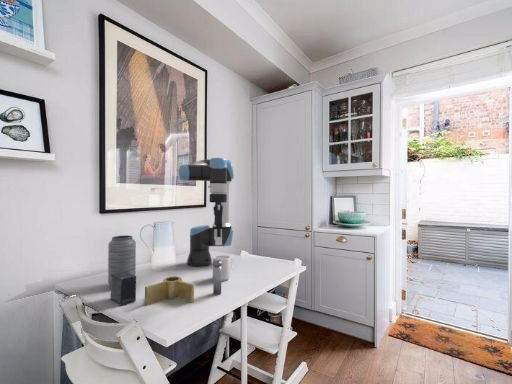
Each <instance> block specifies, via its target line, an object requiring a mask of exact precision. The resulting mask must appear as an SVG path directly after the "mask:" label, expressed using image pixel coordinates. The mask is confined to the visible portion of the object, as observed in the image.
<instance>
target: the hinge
mask: <svg viewBox="0 0 512 384" xmlns="http://www.w3.org/2000/svg"><path fill="white" fill-rule="evenodd" d="M166 299H167V300H172V299H173V300H174V299H179V300H182V301H185V302H188V303H191V304H192V303H194V301H195V284H194V283H190V282H187V281H183V280H182V277H181V276H176V275H175V276H168V277H164V278H163V280H162V281H161V282H160V281H159V282H157V283H154V284H150V285H147V286H144V305H145V306H150V305H153V304H155V303H159V302H160V301H163V300H166Z"/></svg>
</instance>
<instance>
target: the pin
mask: <svg viewBox="0 0 512 384" xmlns="http://www.w3.org/2000/svg"><path fill="white" fill-rule="evenodd" d="M221 265H222V261H220V260H216V261H213V260H212V279H213V281H212V285H213V286H212V288H213V289H212V292H213V293H212V294H213V295H214V296H220V295H221V294H222V281H221Z"/></svg>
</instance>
